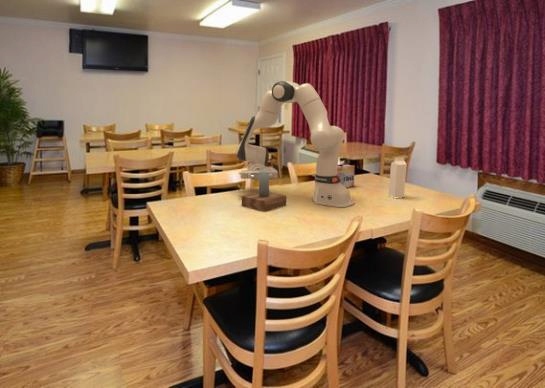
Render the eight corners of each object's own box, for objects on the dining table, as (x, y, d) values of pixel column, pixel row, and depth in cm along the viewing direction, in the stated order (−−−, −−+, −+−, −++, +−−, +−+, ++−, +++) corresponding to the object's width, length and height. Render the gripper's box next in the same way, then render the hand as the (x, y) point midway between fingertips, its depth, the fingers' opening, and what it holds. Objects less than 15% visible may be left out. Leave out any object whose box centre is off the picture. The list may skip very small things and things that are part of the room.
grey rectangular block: (270, 195, 196) (271, 172, 193) (264, 197, 192) (264, 173, 189) (263, 194, 199) (263, 171, 196) (256, 195, 195) (256, 172, 193)
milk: (403, 198, 214) (407, 158, 209) (394, 198, 212) (397, 158, 207) (397, 195, 220) (401, 156, 214) (388, 196, 218) (391, 157, 213)
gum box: (346, 184, 248) (347, 163, 245) (355, 186, 242) (357, 165, 239) (317, 188, 235) (318, 166, 232) (326, 191, 229) (327, 168, 226)
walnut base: (286, 205, 198) (286, 195, 197) (265, 211, 186) (265, 201, 185) (262, 199, 208) (262, 190, 207) (241, 205, 196) (241, 196, 195)
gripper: (238, 166, 215) (241, 171, 201) (275, 166, 218) (279, 170, 205) (238, 178, 216) (241, 183, 203) (274, 177, 220) (279, 182, 206)
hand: (260, 177), depth 204 cm, fingers open, 8 cm apart
